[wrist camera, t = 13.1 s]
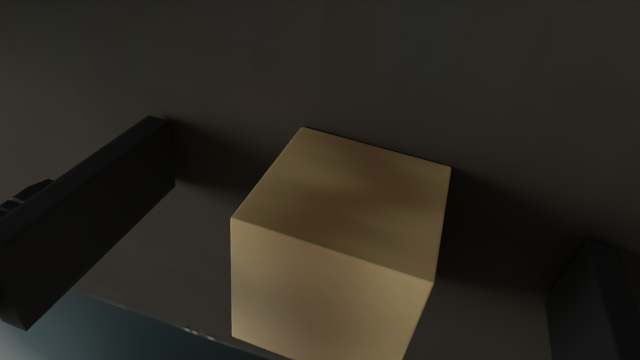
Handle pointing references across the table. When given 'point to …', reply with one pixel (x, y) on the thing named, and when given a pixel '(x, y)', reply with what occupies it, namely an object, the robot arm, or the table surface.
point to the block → (337, 250)
